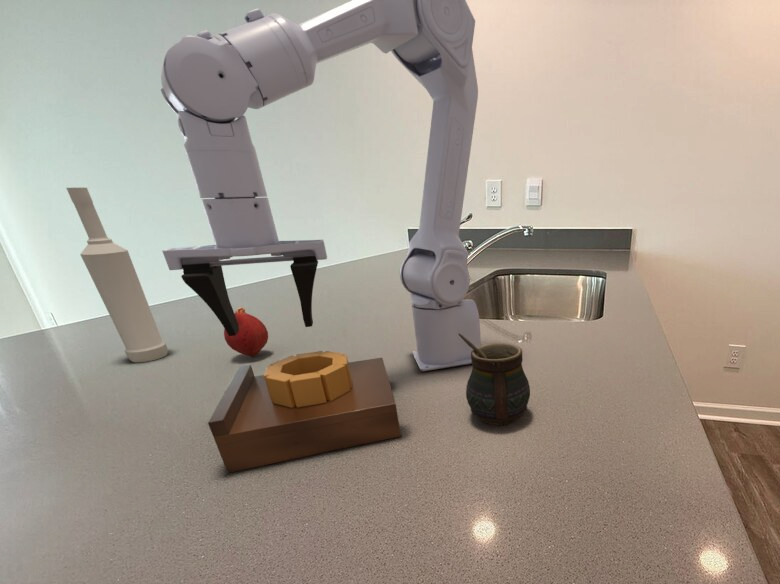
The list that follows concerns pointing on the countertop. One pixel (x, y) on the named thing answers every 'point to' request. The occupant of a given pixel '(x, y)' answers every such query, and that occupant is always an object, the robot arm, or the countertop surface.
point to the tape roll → (308, 378)
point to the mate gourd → (497, 383)
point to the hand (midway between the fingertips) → (272, 328)
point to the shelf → (301, 419)
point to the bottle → (118, 285)
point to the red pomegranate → (247, 334)
